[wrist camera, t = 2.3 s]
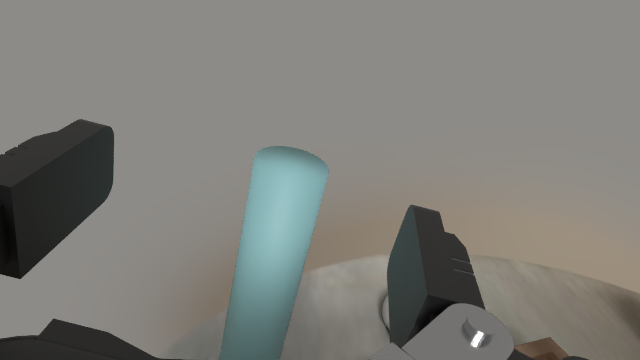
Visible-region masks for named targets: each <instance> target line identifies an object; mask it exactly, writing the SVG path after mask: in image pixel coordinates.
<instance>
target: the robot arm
mask: <svg viewBox="0 0 640 360" xmlns="http://www.w3.org/2000/svg"><path fill="white" fill-rule="evenodd" d="M113 164H114V133H113V130H112V128H111V127H109V126H106V125H102V124H98V123H94V122H90V121H86V120H82V119H80V120H77V121H75V122H73V123H71V124H70V125H68V126H66V127H65V128H63V129H61V130H59V131H57V132H52V133H48V134H43V135H40V136H35V137H33V138H31V139H29V140H27V141H25V142H23V143H22V144H20V145H18V147H14V148H12V149H10V150H9V151H7V152H5V154H4V155H3V154H1V155H0V274H2V275H6V276H10V277H14V278H18V279H21V278H22V277H23V276H24V275H25V274H27V273H28V272H29V271H30V270H31V269H32V268H33V267H34V266H35V265H36V264H37V263H38V262H39V261H40V260H42V259H43V258H44V257H45V256H46V255H47V254H48V253H49V252H50V251H51V250H52V249H54V248H55V247H56V246H57V245H58V244H59V243H60V242H61V241H62V240H63V239H64V238H65V237H66V236H68V235H69V234H70V233H71V232H72V231H73V230H74V229H75V228H76V227H77V226H78V225H80V224H81V223H82V222H83V221H84V220H85V219H86V218H87V217H88V216H89V215H90V214H91V213H93V212H94V211H95V210H96V209H97V208H98V207H99V206H100V205H101V204H102V203H103V202H104V201H105V200H106V199H107V197H108V195H109V193H110V191H111V188H112V184H113ZM473 273H474V272H473V269H472V266H471V264H470V260H469V257H468V253H467V250H466V248H465V247H464V245H463V244H462V243H461V242H460V241H459V239H458V238H457V237H456V236H455V235H454V234H450V233H446V232H445V231H444V227H443V224H442V220H441V216H440V213H439V212H438V211H434V210H431V209H427V208H423V207H419V206H415V205H410V207H409V208H408V210H407V212H406V214H405V217H404V220H403V223H402V225H401V228H400V231H399V233H398V236H397V238H396V241H395V243H394V246H393V249H392V251H391V255H390V258H389V263H388V269H387V283H388V305H389V327H390V344H388V345H387V346H385V347H384V348H383V349H382V350H380V351H379V352H378V353H377V354H376V355H374V356H373V357H372V358H371V359H370V360H535V359H533V358H531V357H529V356H527V355H525V354H523V353H521V352H519V351H518V350H516V349H515V348H514V341H513V337H512V335H511V333H510V331H509V330H508V329H507V327H506V326H505V325H504V324H503V323H502V322H501V321H500V320H499V319H498V318H497V317H495V316H494V315H493V314H491V313H490V312H488V311H486V310H485V307H484V304H483V301H482V298H481V294H480V291H479V288H478V285H477V282H476V279H475V276H474V275H473ZM0 360H181V359H160V358H156V357H154V356H151V355H149V354H148V353H146V352H144V351H142V350H140V349H138V348H136V347H134V346H133V345H131V344H129V343H127V342H125V341H123V340H121V339H120V338H118V337H116V336H114V335H112V334H110V333H108V332H105V331H100V330H97V329H93V328H88V327H84V326H81V325H77V324H72V323H69V322H64V321H61V320H57V319H53V320H52V321H51V322H50V323H49V324H48V326H47V327H46V328H45V329H44V330H43V331H42V333H41V334H40V335H38V336H37V335H30V336H15V337H9V338H2V339H0ZM562 360H588V359H585V358H581V357H576V356H569V357H565V358H563V359H562Z"/></svg>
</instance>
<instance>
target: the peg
mask: <svg viewBox="0 0 640 360" xmlns="http://www.w3.org/2000/svg"><path fill="white" fill-rule="evenodd" d="M328 173H329V169H328V166H327V165H326V163H325V162H324V161H323V160H321V159H320V158H319V157H317V156H315V155H313V154H311V153H309V152H306V151H304V150H300V149H296V148H292V147H284V146H274V147H267V148H264V149H261V150H259V151H258V152H257V153H256V154H255V158H254V163H253V169H252V175H251V181H250V187H249V192H248V198H247V204H246V210H245V216H244V221H243V227H242V232H241V238H240V244H239V250H238V256H237V261H236V267H235V273H234V279H233V284H232V291H231V296H230V301H229V307H228V313H227V319H226V325H225V330H224V336H223V342H222V348H221V353H220V359H219V360H279V359H280V355H281V351H282V348H283V344H284V340H285V336H286V332H287V329H288V325H289V321H290V317H291V313H292V310H293V306H294V302H295V298H296V295H297V291H298V287H299V283H300V279H301V276H302V272H303V268H304V264H305V260H306V257H307V253H308V249H309V245H310V242H311V238H312V234H313V230H314V226H315V223H316V219H317V215H318V211H319V207H320V203H321V200H322V196H323V192H324V189H325V185H326V181H327V177H328Z"/></svg>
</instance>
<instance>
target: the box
mask: <svg viewBox="0 0 640 360" xmlns="http://www.w3.org/2000/svg"><path fill="white" fill-rule="evenodd" d="M514 348H515V349H516V350H518V351H519V352H521V353H523V354H525V355H527V356H529V357H531V358H533V359H535V360H562V359H563V358H565V357H569V355H568V354H567V353H566V352H565V351H564V350H562V349H561V348H560V347H559V346H558V345H557V344H556V343H555V342H554V341H553V340H552V339H551V338H550V337H549V338H545V339H541V340H537V341H533V342H529V343H525V344H521V345H517V346H514Z"/></svg>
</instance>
